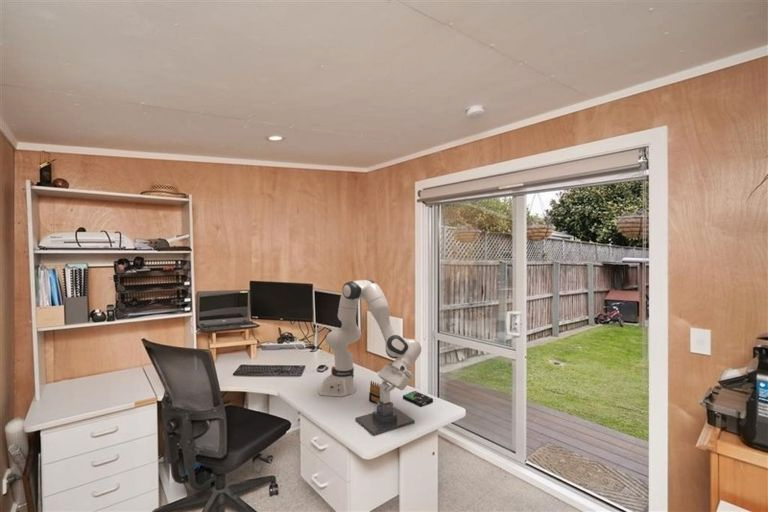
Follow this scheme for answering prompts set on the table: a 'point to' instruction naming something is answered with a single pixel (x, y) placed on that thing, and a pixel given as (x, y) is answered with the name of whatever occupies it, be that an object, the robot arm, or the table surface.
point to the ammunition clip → (374, 392)
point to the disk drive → (418, 399)
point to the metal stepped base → (384, 419)
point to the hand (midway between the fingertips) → (383, 390)
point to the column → (384, 394)
